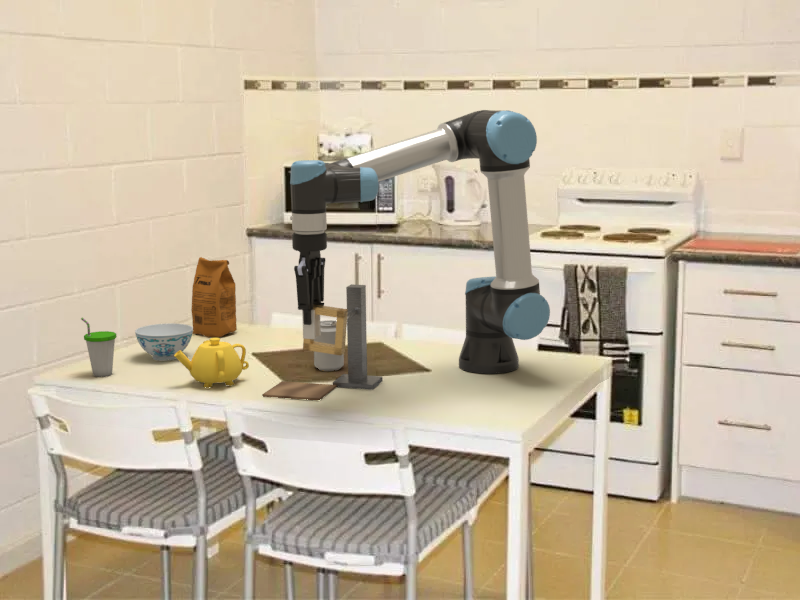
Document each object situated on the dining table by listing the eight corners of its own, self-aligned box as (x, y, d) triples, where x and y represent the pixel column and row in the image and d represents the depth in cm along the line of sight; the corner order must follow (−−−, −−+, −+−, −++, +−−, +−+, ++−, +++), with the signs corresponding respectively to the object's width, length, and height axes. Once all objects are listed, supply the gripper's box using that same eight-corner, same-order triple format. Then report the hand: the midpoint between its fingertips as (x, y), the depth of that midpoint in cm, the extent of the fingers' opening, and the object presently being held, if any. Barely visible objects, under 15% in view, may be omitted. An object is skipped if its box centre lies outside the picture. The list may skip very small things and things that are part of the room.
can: (339, 372, 289) (338, 325, 287) (310, 371, 291) (309, 324, 289) (347, 365, 297) (346, 319, 294) (318, 364, 298) (317, 318, 296)
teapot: (207, 373, 290) (205, 329, 288) (254, 378, 285) (252, 334, 283) (173, 387, 277) (171, 342, 275) (222, 393, 272) (220, 347, 270)
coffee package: (211, 327, 342) (208, 254, 338) (242, 333, 335) (239, 257, 331) (186, 334, 335) (183, 258, 330) (217, 339, 327) (214, 262, 323)
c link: (344, 353, 256) (347, 309, 254) (341, 355, 254) (344, 311, 252) (306, 347, 259) (309, 303, 257) (302, 349, 257) (305, 305, 254)
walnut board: (336, 387, 276) (336, 384, 275) (319, 400, 264) (319, 398, 264) (281, 383, 279) (281, 381, 279) (262, 396, 268) (262, 394, 268)
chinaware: (126, 363, 301) (124, 334, 300) (152, 350, 315) (150, 322, 314) (179, 366, 298) (178, 336, 296) (203, 352, 312) (202, 324, 310)
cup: (124, 371, 292) (120, 313, 289) (108, 379, 285) (105, 320, 282) (96, 370, 294) (93, 312, 292) (80, 377, 287) (76, 318, 284)
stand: (382, 381, 281) (381, 283, 276) (356, 403, 262) (354, 299, 257) (343, 378, 283) (341, 282, 279) (315, 400, 265) (312, 297, 260)
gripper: (306, 226, 261) (308, 328, 265) (279, 236, 246) (283, 343, 250) (337, 227, 258) (339, 330, 263) (312, 237, 244) (315, 345, 248)
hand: (311, 336), depth 257 cm, fingers closed on c link, 2 cm apart
